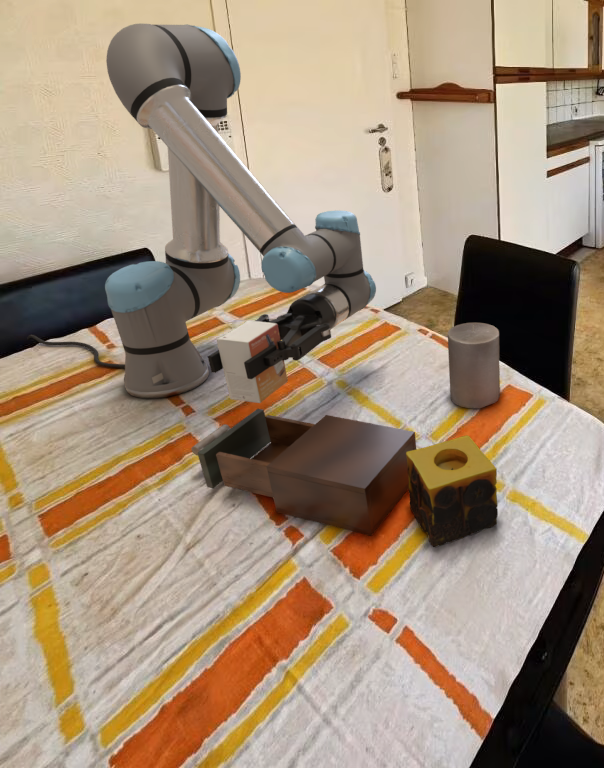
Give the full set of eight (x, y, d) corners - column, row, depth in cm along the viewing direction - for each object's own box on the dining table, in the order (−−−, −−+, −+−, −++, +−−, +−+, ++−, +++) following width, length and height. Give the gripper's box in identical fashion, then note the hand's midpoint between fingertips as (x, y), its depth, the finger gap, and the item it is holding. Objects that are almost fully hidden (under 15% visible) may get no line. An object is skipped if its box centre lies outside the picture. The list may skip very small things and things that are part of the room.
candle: (432, 550, 84) (427, 491, 80) (407, 507, 92) (402, 451, 88) (499, 526, 89) (499, 469, 84) (470, 487, 96) (468, 433, 92)
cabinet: (276, 512, 91) (266, 466, 87) (333, 457, 104) (326, 414, 100) (371, 536, 87) (364, 488, 83) (418, 475, 99) (415, 431, 95)
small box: (260, 404, 96) (247, 342, 92) (229, 400, 98) (214, 338, 93) (289, 381, 103) (278, 322, 98) (259, 377, 105) (247, 318, 100)
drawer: (181, 480, 96) (170, 446, 93) (241, 435, 108) (233, 403, 105) (287, 507, 91) (279, 471, 88) (339, 456, 102) (333, 423, 99)
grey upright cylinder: (456, 383, 126) (452, 314, 119) (503, 386, 125) (503, 317, 118) (445, 407, 118) (441, 334, 111) (496, 411, 117) (495, 337, 110)
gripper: (366, 338, 112) (287, 399, 92) (277, 325, 117) (184, 380, 97) (361, 298, 108) (278, 353, 89) (270, 287, 113) (172, 336, 94)
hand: (229, 367), depth 93 cm, fingers closed on small box, 6 cm apart
